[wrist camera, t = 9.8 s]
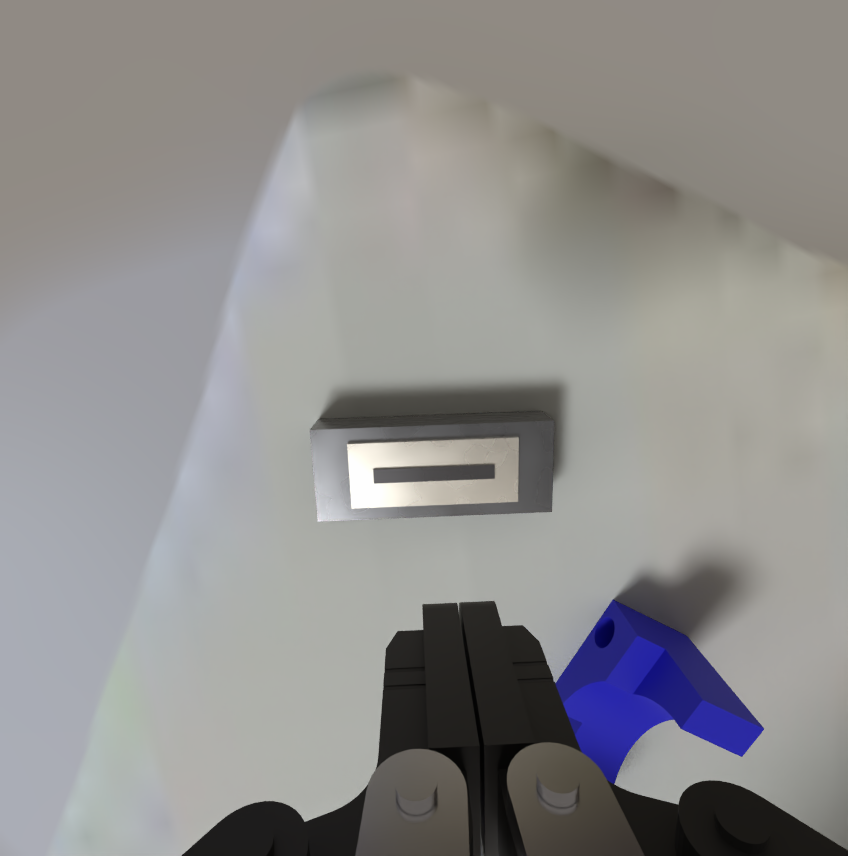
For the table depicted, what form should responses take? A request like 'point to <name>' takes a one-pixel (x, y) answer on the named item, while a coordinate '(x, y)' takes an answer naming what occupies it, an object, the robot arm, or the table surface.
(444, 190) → the table surface
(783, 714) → the table surface
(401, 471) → the label stands
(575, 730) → the cable clip
